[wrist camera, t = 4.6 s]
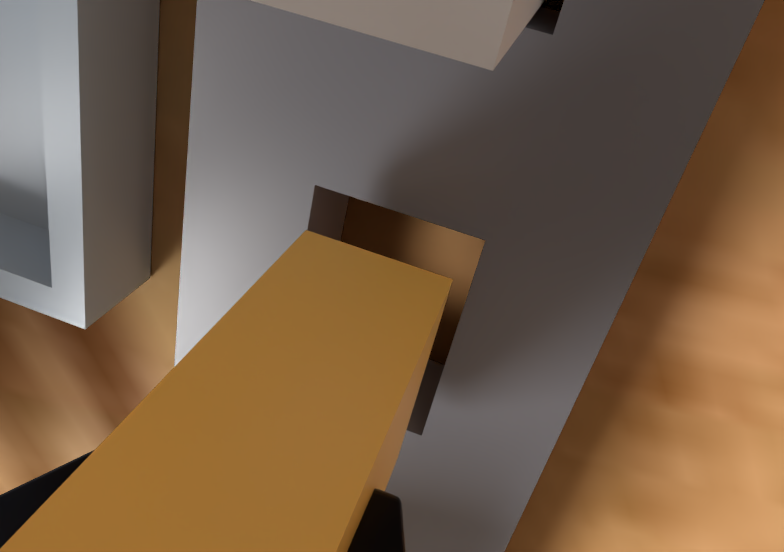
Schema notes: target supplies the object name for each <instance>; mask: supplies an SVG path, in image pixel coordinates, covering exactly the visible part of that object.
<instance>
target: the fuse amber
mask: <svg viewBox="0 0 784 552" xmlns="http://www.w3.org/2000/svg"><path fill="white" fill-rule="evenodd" d="M452 281H453V279H451V278H448V277H445V276H442V275H439V274H436V273H433V272H430V271H427V270H424V269H421V268H418V267H415V266H412V265H409V264H406V263H403V262H400V261H397V260H394V259H391V258H388V257H385V256H382V255H379V254H376V253H373V252H370V251H367V250H364V249H361V248H358V247H355V246H352V245H349V244H347V243H344V242H341V241H338V240H335V239H332V238H329V237H326V236H323V235H320V234H317V233H314V232H311V231H308V230H305V231H304V232H303V234H302V235H301V236H300V237H299V238H298V239H297V240H296V241H295V242H294V243H293V244H292V245H291V246H290V247H289V248H288V249H287V250H286V251H285V252H284V253H283V254H282V255H281V256H280V257H279V259H278V260H277V261H276V262H275V263H274V264H273V265H272V266H271V267H270V268H269V269H268V270H267V271H266V272H265V273H264V274H263V275H262V276H261V277H260V278H259V279H258V280H257V281H256V283H255V284H254V285H253V286H252V287H251V288H250V289H249V290H248V291H247V292H246V293H245V294H244V295H243V296H242V297H241V298H240V299H239V300H238V301H237V302H236V303H235V304H234V305H233V306H232V308H231V309H230V310H229V311H228V312H227V313H226V314H225V315H224V316H223V317H222V318H221V319H220V320H219V321H218V322H217V323H216V324H215V325H214V326H213V327H212V328H211V329H210V330H209V332H208V333H207V334H206V335H205V336H204V337H203V338H202V339H201V340H200V341H199V342H198V343H197V344H196V345H195V346H194V347H193V348H192V349H191V350H190V351H189V352H188V353H187V354H186V356H185V357H184V358H183V359H182V360H181V361H180V362H179V363H178V364H177V365H176V366H175V367H174V368H173V369H172V370H171V371H170V372H169V373H168V374H167V375H166V376H165V377H164V378H163V379H162V381H161V382H160V383H159V384H158V385H157V386H156V387H155V388H154V389H153V390H152V391H151V392H150V393H149V394H148V395H147V396H146V397H145V398H144V399H143V400H142V401H141V402H140V403H139V405H138V406H137V407H136V408H135V409H134V410H133V411H132V412H131V413H130V414H129V415H128V416H127V417H126V418H125V419H124V420H123V421H122V422H121V423H120V424H119V425H118V426H117V427H116V429H115V430H114V431H113V432H112V433H111V434H110V435H109V436H108V437H107V438H106V439H105V440H104V441H103V442H102V443H101V444H100V445H99V446H98V447H97V448H96V449H95V450H94V451H93V452H92V454H91V455H90V456H89V457H88V458H87V459H86V460H85V461H84V462H83V463H82V464H81V465H80V466H79V467H78V468H77V469H76V470H75V471H74V472H73V473H72V474H71V475H70V476H69V478H68V479H67V480H66V481H65V482H64V483H63V484H62V485H61V486H60V487H59V488H58V489H57V490H56V491H55V492H54V493H53V494H52V495H51V496H50V497H49V498H48V499H47V500H46V501H45V503H44V504H43V505H42V506H41V507H40V508H39V509H38V510H37V511H36V512H35V513H34V514H33V515H32V516H31V517H30V518H29V519H28V520H27V521H26V522H25V523H24V524H23V525H22V527H21V528H20V529H19V530H18V531H17V532H16V533H15V534H14V535H13V536H12V537H11V538H10V539H9V540H8V541H7V542H6V543H5V544H4V545H3V546H2V547H1V548H0V552H347V551H348V548H349V546H350V544H351V542H352V539H353V537H354V535H355V532H356V530H357V528H358V525H359V523H360V521H361V519H362V516H363V514H364V512H365V509H366V507H367V505H368V502H369V500H370V498H371V496H372V493H373V491H374V489H380V490H382V491H385V489H386V487H387V484H388V481H389V479H390V476H391V474H392V471H393V469H394V466H395V464H396V461H397V458H398V456H399V452H400V449H401V446H402V443H403V439H404V436H405V433H406V430H407V427H408V423H409V420H410V417H411V414H412V410H413V407H414V404H415V401H416V397H417V394H418V391H419V388H420V385H421V381H422V378H423V375H424V372H425V368H426V365H427V362H428V359H429V356H430V352H431V349H432V346H433V343H434V339H435V336H436V333H437V330H438V326H439V323H440V320H441V317H442V314H443V310H444V307H445V304H446V301H447V297H448V294H449V291H450V288H451V284H452Z"/></svg>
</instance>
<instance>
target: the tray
mask: <svg viewBox="0 0 784 552" xmlns="http://www.w3.org/2000/svg"><path fill="white" fill-rule="evenodd" d="M159 10H160V0H0V298H3V299H5V300H8V301H11V302H13V303H16V304H19V305H21V306H24V307H27V308H29V309H32V310H35V311H37V312H40V313H43V314H45V315H48V316H51V317H53V318H56V319H59V320H61V321H64V322H67V323H69V324H72V325H75V326H78V327H80V328H83V329H86V328H88V327H89V326H90V325H91V324H93V323H94V322H95V321H97V320H98V319H99V318H100V317H102V316H103V315H104V314H105V313H107V312H108V311H109V310H110V309H112V308H113V307H114V306H115V305H117V304H118V303H119V302H120V301H122V300H123V299H124V298H125V297H127V296H128V295H129V294H130V293H132V292H133V291H134V290H136V289H137V288H138V287H139V286H141V285H142V284H143V283H144V282H146V281H147V280H148V279H149V278H150V268H151V239H152V210H153V182H154V153H155V125H156V96H157V67H158V39H159Z"/></svg>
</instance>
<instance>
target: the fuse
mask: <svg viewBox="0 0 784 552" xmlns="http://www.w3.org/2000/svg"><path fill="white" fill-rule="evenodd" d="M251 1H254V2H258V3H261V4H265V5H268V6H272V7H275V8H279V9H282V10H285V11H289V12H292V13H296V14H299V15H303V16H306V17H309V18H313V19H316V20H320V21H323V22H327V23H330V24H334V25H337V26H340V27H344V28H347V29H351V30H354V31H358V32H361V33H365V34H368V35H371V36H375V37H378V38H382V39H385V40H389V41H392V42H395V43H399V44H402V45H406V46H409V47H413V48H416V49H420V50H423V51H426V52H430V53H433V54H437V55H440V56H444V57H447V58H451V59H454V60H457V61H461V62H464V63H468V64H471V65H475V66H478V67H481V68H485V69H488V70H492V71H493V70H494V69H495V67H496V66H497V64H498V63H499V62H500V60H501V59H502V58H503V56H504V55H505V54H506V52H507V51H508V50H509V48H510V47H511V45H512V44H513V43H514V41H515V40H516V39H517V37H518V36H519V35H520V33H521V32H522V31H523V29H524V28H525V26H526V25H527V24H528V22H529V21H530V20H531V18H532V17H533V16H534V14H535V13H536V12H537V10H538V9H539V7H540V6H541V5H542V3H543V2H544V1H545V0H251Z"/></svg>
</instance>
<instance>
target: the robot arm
mask: <svg viewBox="0 0 784 552" xmlns="http://www.w3.org/2000/svg"><path fill="white" fill-rule="evenodd" d="M93 451H94V450H93ZM93 451H91V452H89V453H87V454H85V455H83V456H81V457H79V458H77V459H75V460H73V461H70V462H68V463H66V464H64V465H62V466H60V467H58V468H56V469H54V470H52V471H50V472H48V473H45V474H43V475H41V476H39V477H37V478H35V479H33V480H31V481H29V482H27V483H25V484H23V485H20V486H18V487H16V488H14V489H12V490H10V491H8V492H6V493H4V494H2V495H0V548H1V547H2V546H3V545H4V544H5V543H6V542H7V541H8V540H9V539H10V538H11V537H12V536H13V535H14V534H15V533H16V532H17V531H18V530H19V529H20V528H21V527H22V525H23V524H24V523H25V522H26V521H27V520H28V519H29V518H30V517H31V516H32V515H33V514H34V513H35V512H36V511H37V510H38V509H39V508H40V507H41V506H42V505H43V504H44V503H45V501H46V500H47V499H48V498H49V497H50V496H51V495H52V494H53V493H54V492H55V491H56V490H57V489H58V488H59V487H60V486H61V485H62V484H63V483H64V482H65V481H66V480H67V479H68V478H69V476H70V475H71V474H72V473H73V472H74V471H75V470H76V469H77V468H78V467H79V466H80V465H81V464H82V463H83V462H84V461H85V460H86V459H87V458H88V457H89V456H90V455H91V454H92V452H93ZM347 552H406V548H405V536H404V524H403V511H402V502H401V500H400V498H399V497H397V496H395V495H393V494H390V493H387V492H385V491H382V490H380V489H374V491H373V493H372V496H371V498H370V500H369V502H368V505H367V507H366V509H365V512H364V514H363V516H362V519H361V521H360V523H359V525H358V528H357V530H356V532H355V535H354V537H353V539H352V542H351V544H350V546H349V548H348V551H347Z"/></svg>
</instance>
